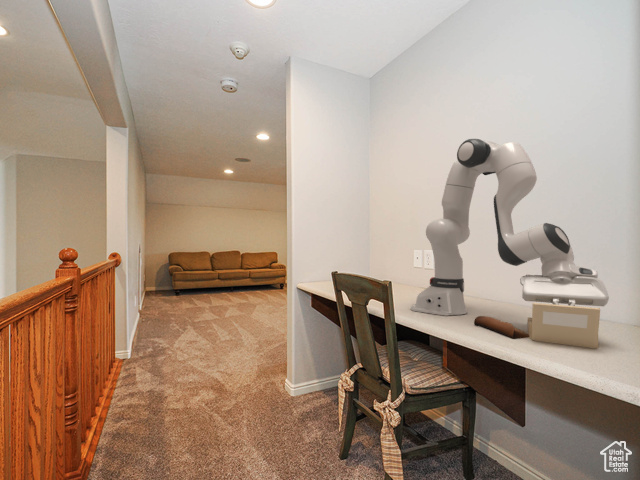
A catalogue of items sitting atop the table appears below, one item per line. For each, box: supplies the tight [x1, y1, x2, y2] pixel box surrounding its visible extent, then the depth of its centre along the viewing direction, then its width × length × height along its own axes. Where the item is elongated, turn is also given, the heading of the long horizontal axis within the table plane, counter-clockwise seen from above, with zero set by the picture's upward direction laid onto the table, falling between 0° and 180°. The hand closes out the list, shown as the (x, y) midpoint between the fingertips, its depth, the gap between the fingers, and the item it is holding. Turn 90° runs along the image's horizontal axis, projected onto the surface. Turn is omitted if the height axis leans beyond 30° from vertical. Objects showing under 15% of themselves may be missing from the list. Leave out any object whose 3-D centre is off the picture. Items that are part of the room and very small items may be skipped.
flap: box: [531, 302, 601, 349], centre depth 91 cm, size 15×1×12 cm, turn 60°
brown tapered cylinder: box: [473, 315, 530, 340], centre depth 106 cm, size 18×7×7 cm
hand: (565, 314), depth 91 cm, fingers closed, pressing on flap
